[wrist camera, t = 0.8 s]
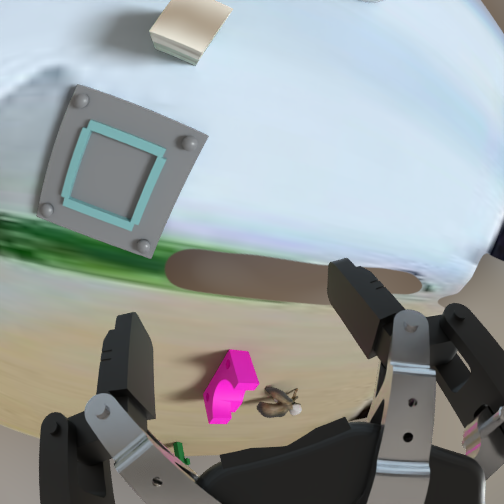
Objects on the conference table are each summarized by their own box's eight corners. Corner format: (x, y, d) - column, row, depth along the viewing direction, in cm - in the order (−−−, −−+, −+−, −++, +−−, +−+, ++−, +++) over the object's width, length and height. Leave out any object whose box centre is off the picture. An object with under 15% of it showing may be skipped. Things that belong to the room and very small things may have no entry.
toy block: (230, 395, 55) (238, 423, 49) (202, 393, 52) (208, 423, 46) (260, 351, 49) (272, 383, 43) (228, 348, 47) (238, 382, 41)
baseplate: (81, 85, 22) (75, 83, 20) (207, 134, 29) (209, 137, 27) (41, 211, 27) (34, 218, 25) (151, 252, 34) (150, 262, 32)
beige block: (179, 13, 21) (181, -13, 14) (218, 30, 23) (233, 9, 16) (155, 49, 22) (149, 31, 16) (195, 65, 24) (202, 52, 18)
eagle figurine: (285, 386, 63) (258, 383, 58) (308, 389, 58) (282, 388, 53) (280, 414, 60) (253, 415, 55) (302, 420, 55) (275, 422, 50)
